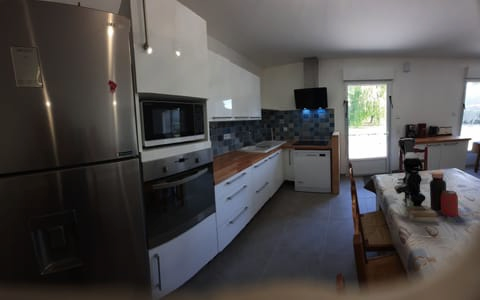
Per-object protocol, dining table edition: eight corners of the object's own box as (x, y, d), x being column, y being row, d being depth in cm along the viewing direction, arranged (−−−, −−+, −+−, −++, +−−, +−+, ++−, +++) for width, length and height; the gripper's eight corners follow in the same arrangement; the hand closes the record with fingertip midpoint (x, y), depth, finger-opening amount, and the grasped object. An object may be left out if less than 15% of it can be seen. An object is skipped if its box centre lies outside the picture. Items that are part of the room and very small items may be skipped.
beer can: (450, 211, 125) (449, 189, 124) (462, 216, 118) (461, 192, 117) (437, 213, 125) (437, 191, 124) (449, 217, 118) (448, 194, 117)
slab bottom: (406, 214, 127) (406, 210, 127) (428, 214, 123) (428, 210, 123) (412, 221, 118) (411, 216, 118) (435, 222, 114) (435, 217, 114)
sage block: (407, 208, 135) (406, 198, 134) (417, 209, 133) (417, 198, 132) (409, 212, 130) (409, 201, 130) (420, 212, 128) (420, 201, 128)
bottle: (440, 212, 126) (439, 175, 124) (427, 208, 132) (426, 173, 130) (450, 209, 127) (449, 173, 126) (436, 206, 134) (435, 171, 132)
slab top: (405, 210, 126) (405, 206, 126) (426, 210, 124) (426, 205, 124) (413, 217, 117) (413, 212, 117) (436, 217, 115) (436, 212, 114)
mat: (404, 213, 129) (404, 212, 129) (429, 214, 125) (429, 213, 125) (411, 223, 116) (411, 223, 116) (439, 225, 112) (439, 224, 112)
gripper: (391, 176, 142) (393, 201, 143) (399, 184, 125) (400, 213, 126) (414, 176, 137) (415, 202, 139) (425, 184, 120) (426, 214, 122)
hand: (413, 207), depth 131 cm, fingers open, 9 cm apart
